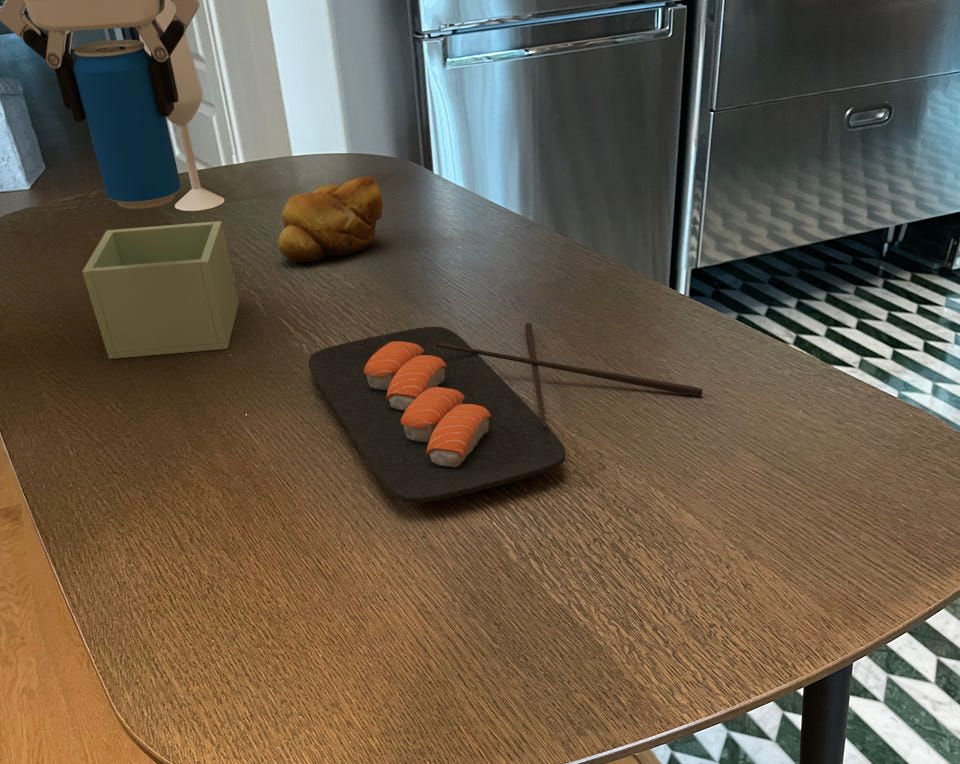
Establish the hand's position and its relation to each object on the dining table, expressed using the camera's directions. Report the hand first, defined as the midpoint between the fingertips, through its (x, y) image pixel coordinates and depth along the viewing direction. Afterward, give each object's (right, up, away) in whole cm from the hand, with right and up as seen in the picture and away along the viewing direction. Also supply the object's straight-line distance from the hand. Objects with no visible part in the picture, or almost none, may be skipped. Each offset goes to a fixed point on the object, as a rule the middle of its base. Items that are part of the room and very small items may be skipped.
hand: (125, 113), depth 85 cm
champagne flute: (-8, +14, +50) cm, 53 cm away
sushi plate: (+33, -24, +2) cm, 41 cm away
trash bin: (-1, -13, +18) cm, 22 cm away
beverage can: (0, -6, +5) cm, 7 cm away
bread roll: (+12, +1, +33) cm, 36 cm away
